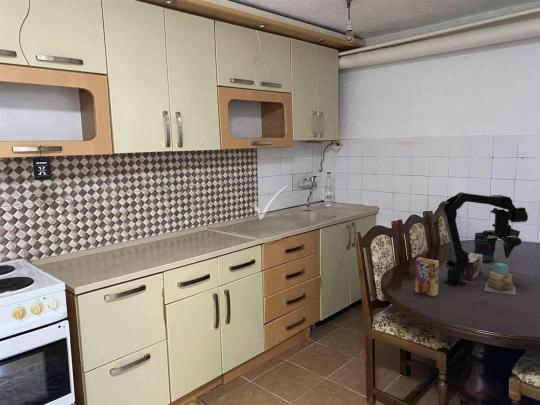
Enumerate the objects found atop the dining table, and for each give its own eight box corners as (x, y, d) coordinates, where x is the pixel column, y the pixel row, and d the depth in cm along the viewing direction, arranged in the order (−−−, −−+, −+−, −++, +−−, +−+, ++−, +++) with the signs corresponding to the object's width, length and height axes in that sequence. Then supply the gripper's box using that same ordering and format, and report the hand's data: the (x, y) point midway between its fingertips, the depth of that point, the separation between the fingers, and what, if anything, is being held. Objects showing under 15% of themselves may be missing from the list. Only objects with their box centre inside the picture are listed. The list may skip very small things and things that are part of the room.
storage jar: (489, 258, 230) (490, 232, 228) (496, 263, 220) (498, 236, 218) (470, 258, 231) (471, 232, 229) (477, 263, 222) (478, 236, 219)
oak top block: (499, 283, 180) (499, 275, 179) (489, 279, 185) (490, 271, 185) (511, 282, 181) (511, 274, 180) (501, 277, 186) (502, 270, 186)
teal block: (500, 274, 180) (500, 266, 180) (493, 272, 184) (494, 263, 183) (508, 274, 181) (508, 265, 180) (501, 271, 185) (502, 262, 184)
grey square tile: (515, 295, 175) (515, 294, 175) (484, 291, 181) (484, 290, 181) (515, 286, 186) (515, 285, 186) (485, 282, 192) (485, 282, 192)
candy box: (438, 293, 180) (439, 260, 178) (434, 296, 177) (435, 262, 175) (419, 289, 186) (419, 256, 184) (414, 291, 183) (415, 259, 181)
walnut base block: (498, 291, 180) (499, 283, 179) (487, 286, 186) (488, 278, 186) (512, 290, 181) (513, 282, 180) (501, 284, 187) (501, 277, 187)
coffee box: (469, 252, 210) (459, 259, 198) (482, 254, 206) (473, 262, 194) (468, 269, 212) (458, 277, 200) (482, 272, 207) (472, 280, 195)
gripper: (533, 225, 180) (530, 259, 183) (502, 218, 199) (500, 249, 201) (510, 227, 179) (508, 261, 181) (481, 219, 197) (480, 250, 199)
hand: (499, 255), depth 191 cm, fingers open, 9 cm apart
